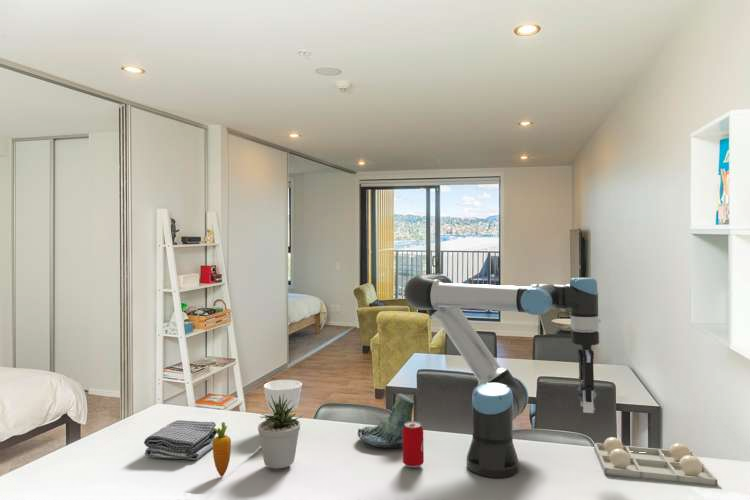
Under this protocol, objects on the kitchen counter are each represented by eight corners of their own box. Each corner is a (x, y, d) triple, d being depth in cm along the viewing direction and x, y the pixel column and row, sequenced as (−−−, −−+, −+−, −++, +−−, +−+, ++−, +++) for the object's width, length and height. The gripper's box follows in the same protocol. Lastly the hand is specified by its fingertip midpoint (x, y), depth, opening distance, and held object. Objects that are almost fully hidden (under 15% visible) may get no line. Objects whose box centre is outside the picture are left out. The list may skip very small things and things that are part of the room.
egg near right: (683, 478, 137) (682, 458, 137) (676, 469, 142) (676, 451, 142) (705, 480, 135) (705, 461, 135) (698, 472, 140) (697, 453, 140)
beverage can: (426, 461, 149) (426, 422, 149) (419, 470, 143) (419, 429, 143) (407, 458, 152) (407, 419, 152) (399, 466, 146) (399, 425, 146)
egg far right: (672, 464, 145) (672, 446, 145) (667, 457, 151) (666, 439, 151) (693, 466, 144) (693, 448, 144) (686, 458, 149) (686, 441, 149)
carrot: (220, 482, 136) (220, 428, 136) (208, 477, 139) (208, 424, 139) (234, 475, 141) (234, 422, 141) (222, 471, 143) (222, 419, 143)
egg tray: (604, 474, 140) (604, 467, 140) (594, 448, 158) (593, 442, 158) (717, 487, 132) (717, 479, 132) (692, 458, 151) (692, 451, 151)
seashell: (599, 415, 141) (598, 380, 142) (579, 414, 143) (578, 379, 143) (594, 409, 147) (593, 375, 147) (575, 408, 148) (574, 375, 148)
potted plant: (311, 461, 150) (311, 395, 150) (274, 476, 140) (274, 406, 140) (286, 449, 158) (286, 387, 158) (249, 463, 148) (249, 397, 148)
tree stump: (360, 424, 178) (380, 379, 179) (411, 449, 176) (431, 403, 176) (352, 439, 160) (374, 389, 161) (408, 468, 157) (431, 416, 158)
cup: (257, 434, 172) (257, 389, 172) (272, 420, 185) (271, 378, 185) (295, 436, 170) (294, 390, 170) (307, 422, 183) (306, 380, 183)
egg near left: (611, 470, 141) (611, 451, 141) (607, 462, 147) (607, 444, 147) (632, 472, 140) (632, 454, 140) (627, 464, 145) (627, 446, 145)
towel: (171, 440, 168) (171, 417, 168) (221, 444, 164) (221, 420, 164) (142, 458, 153) (142, 433, 153) (196, 463, 149) (196, 437, 149)
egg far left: (605, 457, 150) (605, 440, 150) (602, 450, 155) (602, 433, 155) (625, 459, 149) (625, 441, 149) (621, 452, 154) (621, 435, 154)
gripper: (603, 335, 135) (606, 420, 135) (594, 325, 153) (596, 400, 152) (574, 334, 137) (576, 418, 137) (568, 325, 155) (570, 399, 154)
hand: (587, 409), depth 145 cm, fingers closed on seashell, 5 cm apart
